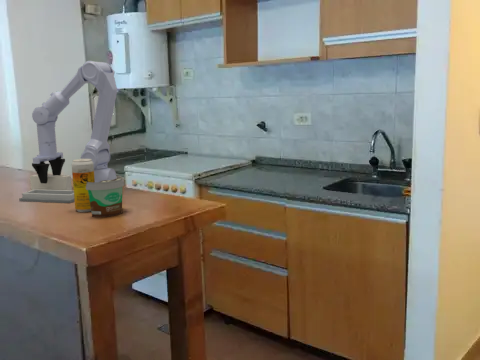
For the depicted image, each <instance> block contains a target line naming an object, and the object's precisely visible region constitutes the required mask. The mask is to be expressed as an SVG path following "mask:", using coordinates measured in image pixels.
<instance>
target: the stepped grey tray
mask: <svg viewBox="0 0 480 360" xmlns="http://www.w3.org/2000/svg"><path fill="white" fill-rule="evenodd" d="M21 196H22V197H20V198H19V201H18V202H31V203H33V202H34V203H55V204H56V203H58V204H60V203H61V204H72V203H75V201H74V190H72V191H70V190H39V189H34V190H29V191H26V192H22V193H21Z"/></svg>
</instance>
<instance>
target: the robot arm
mask: <svg viewBox="0 0 480 360" xmlns="http://www.w3.org/2000/svg"><path fill="white" fill-rule="evenodd" d="M115 72H116V71H115V70H114V69H113V66H111V65H110V64H109V63H108V62H105V61H93V60H87V61H85V62H84V63H83V64H82V65H81V66H80V67H78V69H77V70H76V73H75V74H74V75H73V77H72V78H71V79H70V80H69V81H68V83H67V84H66V85H65V86H64V87H63V88H62V90H61V91H59V90H58V91H53V92H51V93H50V95H49V96H50V97H49V98H48V99H47V100H46V101H45V102H42V104H41V106H38V107H35V108H34V109H33V111H32V113H31V118H32V120H33V122H34V123H35V124H36V131H37V132H36V133H37V142H38V145H37V146H38V153H39V154H37V155H36V156H35V157H32V163H31V166H32V168H33V169H34V171H35V172H36V175H38V177H39V180H40V182H41V183H45V184H46V183H47V181H48V175H49V173H48V172H49V168H51V173H52V174H51V175H62V170H63V166H64V165H65V162H66V159H65V158H64V152H61V151H60V152H58V150H57V149H58V147H57V138H56V122H57V120H58V118H59V117H58V116H59V115H60V114H61V112H63V111H64V110H65V109H66V108H67V107H68V105H69V104H70V99H71V97H72V96H74V95H75V94H76V93H77V92H78V91H79V90H80V89H81V88H83V87H84V86H85V85H86V84H91V85H92V86H93V87H95V89H96V90H97V92H98V99H97V102H96V103H97V104H96V109H95V114H94V120H93V125H92V129H91V134H90V139H89V141H88V142H87V143H86V144H85V147H84V150H83V151H82V153H81V155H80V159H92V162H93V164H94V178H95V182H100V181H103V180H114V179H117V173H116V170H115V169H114V168H109V167H108V163H109V162H110V160H111V151H110V148H111V147H110V146H111V145H110V144H109V142H108V139H109V133H110V128H111V124H112V118H113V114H114V109H115V104H116V98H117V94H118V87H117V83H116V80H115ZM47 161H48V163H46V162H47Z"/></svg>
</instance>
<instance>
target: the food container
mask: <svg viewBox="0 0 480 360" xmlns="http://www.w3.org/2000/svg"><path fill="white" fill-rule="evenodd" d="M125 185H126V184H125V179H124V178H123V177H122V176H121V175H116V179H114V180H103V181H100V182H87V185H86V190H88V194H89V200H90V206H91V211H90V212H91V216H92V217H94V218H107V217H114V216H117V215H120V214H122V213H123V187H124V186H125Z"/></svg>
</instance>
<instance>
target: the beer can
mask: <svg viewBox="0 0 480 360" xmlns="http://www.w3.org/2000/svg"><path fill="white" fill-rule="evenodd" d="M71 173H72V176H71V177H72V185H73V187H72V189H73V191H74V209H75V210H77V211H76V212H78V213H89V212H91V206H90V200H89V194H88V190H86V185H87V182H95V178H94V164H93V162H92V159H81V158H77V159H73V160H72V163H71Z"/></svg>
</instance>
